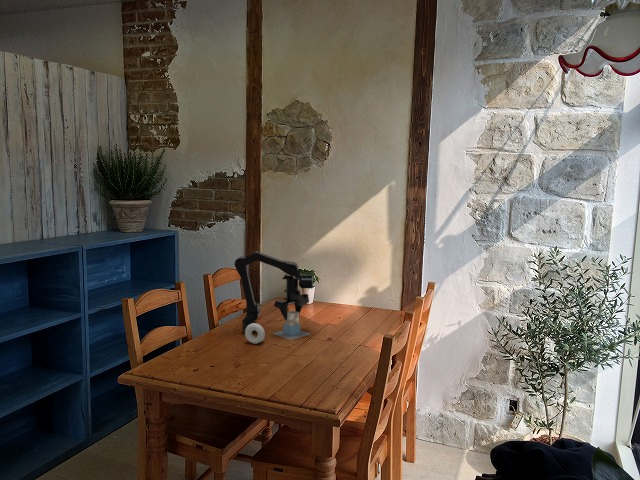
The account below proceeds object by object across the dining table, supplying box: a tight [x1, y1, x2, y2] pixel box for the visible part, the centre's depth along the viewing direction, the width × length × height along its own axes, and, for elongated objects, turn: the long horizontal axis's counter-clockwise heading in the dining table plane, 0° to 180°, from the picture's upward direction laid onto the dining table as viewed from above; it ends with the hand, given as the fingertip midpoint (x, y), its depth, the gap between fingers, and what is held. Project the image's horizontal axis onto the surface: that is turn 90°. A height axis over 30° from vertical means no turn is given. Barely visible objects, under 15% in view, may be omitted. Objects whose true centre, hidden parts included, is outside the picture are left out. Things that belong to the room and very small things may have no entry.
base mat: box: [271, 329, 311, 341], centre depth 262 cm, size 14×14×1 cm
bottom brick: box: [282, 323, 301, 336], centre depth 261 cm, size 6×6×5 cm
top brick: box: [284, 310, 300, 326], centre depth 261 cm, size 5×5×6 cm
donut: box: [244, 322, 266, 345], centre depth 248 cm, size 10×3×10 cm, turn 73°
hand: (291, 318), depth 261 cm, fingers open, 8 cm apart
